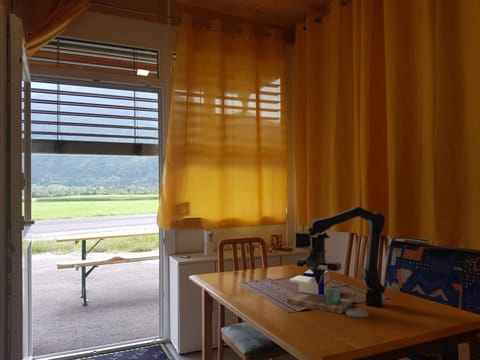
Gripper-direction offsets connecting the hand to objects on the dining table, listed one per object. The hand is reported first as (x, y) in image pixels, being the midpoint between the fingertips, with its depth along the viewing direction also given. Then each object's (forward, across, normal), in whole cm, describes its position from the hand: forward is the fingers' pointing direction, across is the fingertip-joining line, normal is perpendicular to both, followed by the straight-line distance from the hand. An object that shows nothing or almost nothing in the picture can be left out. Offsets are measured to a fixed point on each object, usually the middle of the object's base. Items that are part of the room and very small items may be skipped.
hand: (318, 284), depth 158 cm
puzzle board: (+9, 0, 0) cm, 9 cm away
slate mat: (+9, +18, -3) cm, 20 cm away
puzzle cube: (+9, -8, +17) cm, 21 cm away
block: (+9, +6, 0) cm, 11 cm away
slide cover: (+6, -7, +1) cm, 9 cm away
